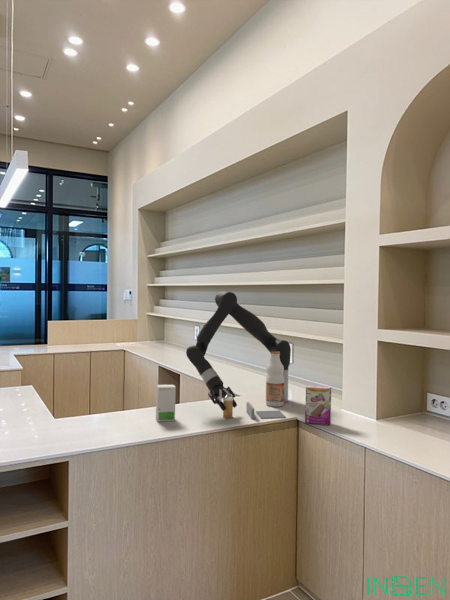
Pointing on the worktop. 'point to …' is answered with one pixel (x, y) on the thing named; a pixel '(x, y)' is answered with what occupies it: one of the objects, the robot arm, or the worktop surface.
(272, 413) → the dark slate mat
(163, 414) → the skincare box
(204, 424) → the worktop surface
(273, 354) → the fruit juice
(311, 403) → the candy bar box
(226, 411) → the amber medicine bottle
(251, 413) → the smoky grey acrylic wall
